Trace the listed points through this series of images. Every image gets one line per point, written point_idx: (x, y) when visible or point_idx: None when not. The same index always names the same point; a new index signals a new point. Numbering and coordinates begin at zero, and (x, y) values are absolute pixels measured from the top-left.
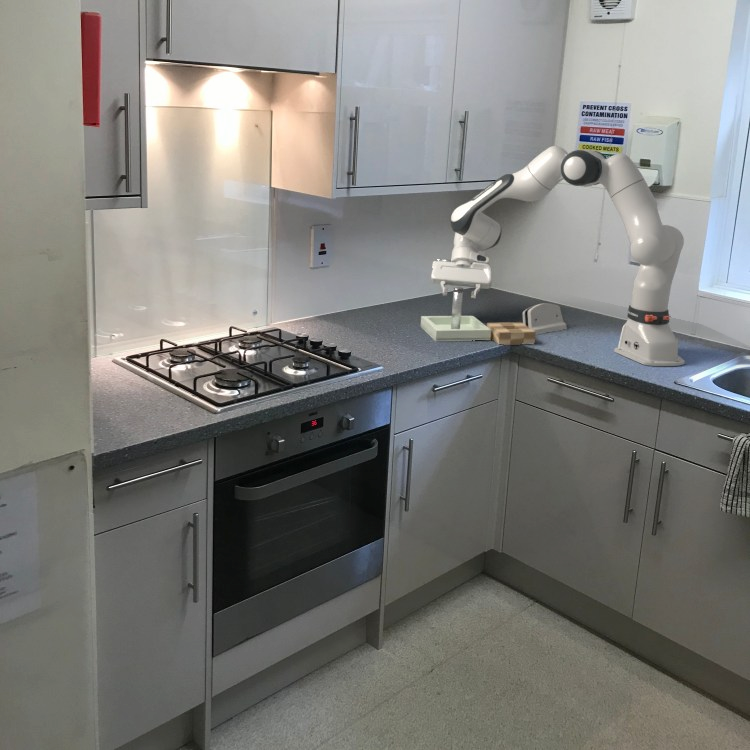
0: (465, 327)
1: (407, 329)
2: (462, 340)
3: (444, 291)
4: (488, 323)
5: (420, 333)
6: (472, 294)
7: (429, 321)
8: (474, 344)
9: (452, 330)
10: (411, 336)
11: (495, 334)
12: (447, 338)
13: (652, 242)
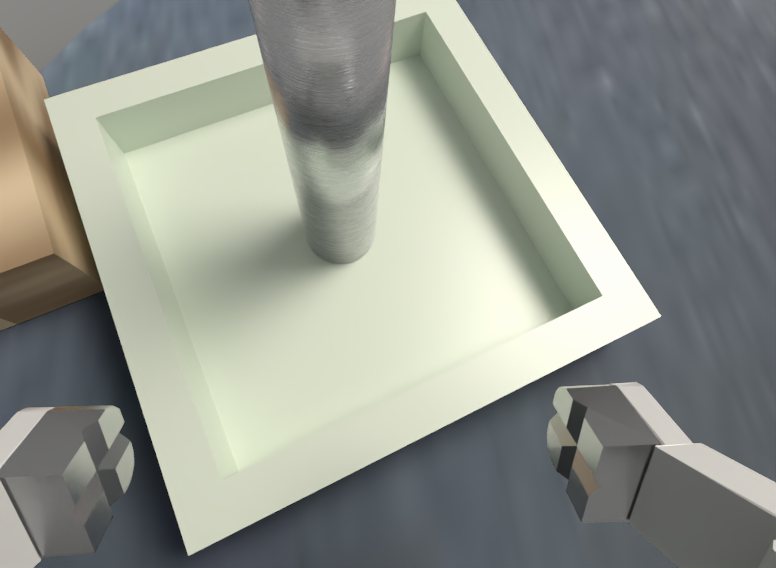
0: (269, 347)
1: (664, 228)
2: None
3: (619, 397)
4: (40, 233)
5: None
6: (79, 413)
7: (547, 176)
8: (199, 49)
9: None
10: (586, 89)
11: (25, 96)
12: None
13: None
